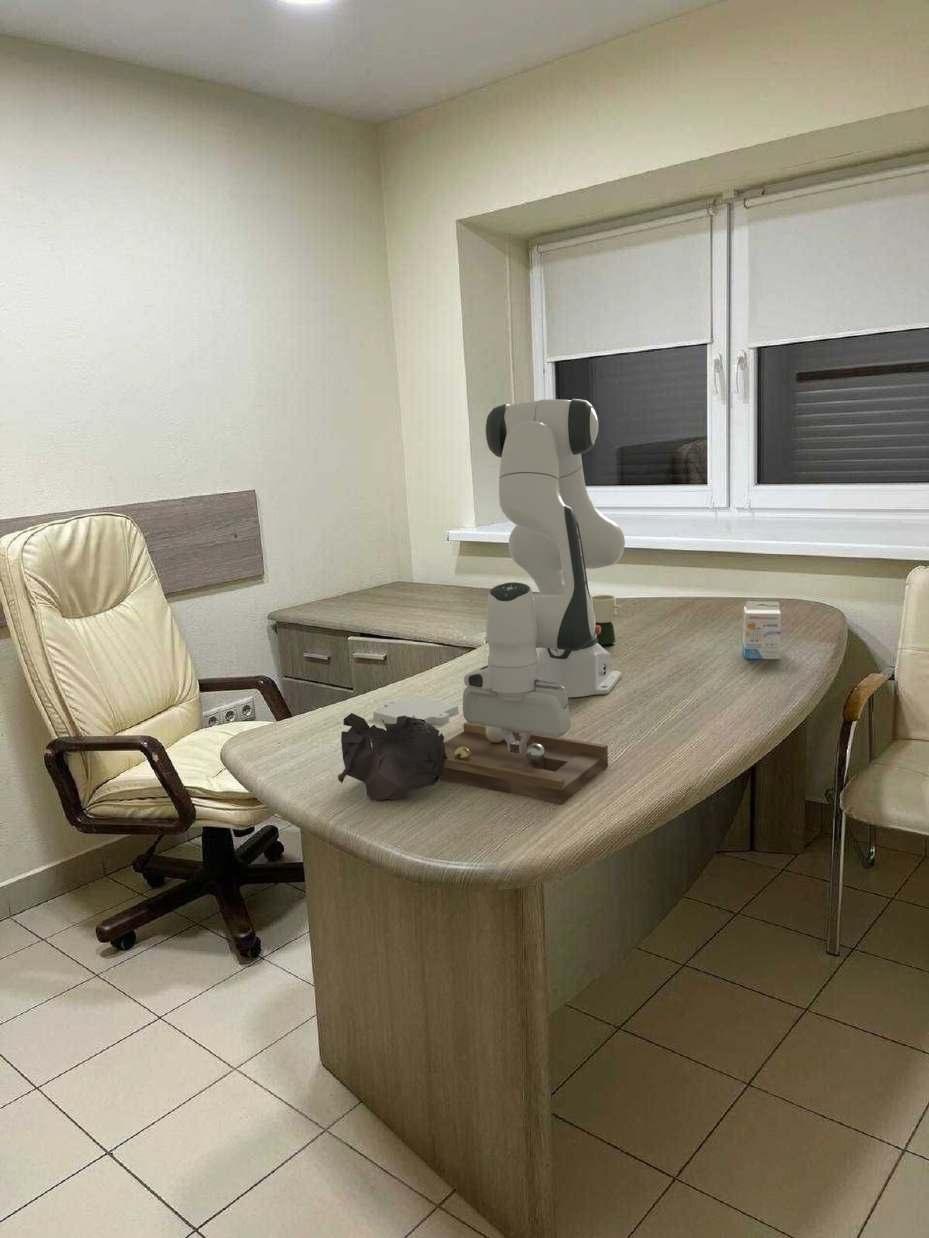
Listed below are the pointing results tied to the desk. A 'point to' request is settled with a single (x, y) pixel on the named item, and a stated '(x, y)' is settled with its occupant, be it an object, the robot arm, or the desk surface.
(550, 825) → the desk surface
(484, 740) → the board
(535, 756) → the steel ball
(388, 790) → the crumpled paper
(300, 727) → the desk surface
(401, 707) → the mounting plate
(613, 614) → the character mug
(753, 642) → the ink box
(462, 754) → the brass ball
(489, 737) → the cream ball
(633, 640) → the desk surface
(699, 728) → the desk surface
